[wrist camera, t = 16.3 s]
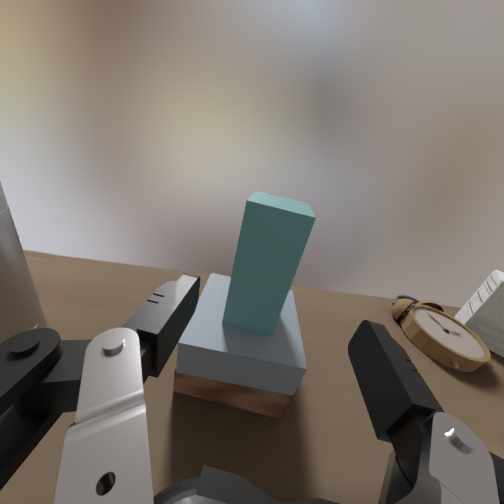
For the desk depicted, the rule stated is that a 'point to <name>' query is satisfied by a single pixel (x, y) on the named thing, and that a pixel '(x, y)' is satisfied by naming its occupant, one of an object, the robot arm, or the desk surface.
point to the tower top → (241, 345)
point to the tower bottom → (232, 394)
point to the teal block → (266, 260)
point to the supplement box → (487, 313)
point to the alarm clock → (440, 335)
